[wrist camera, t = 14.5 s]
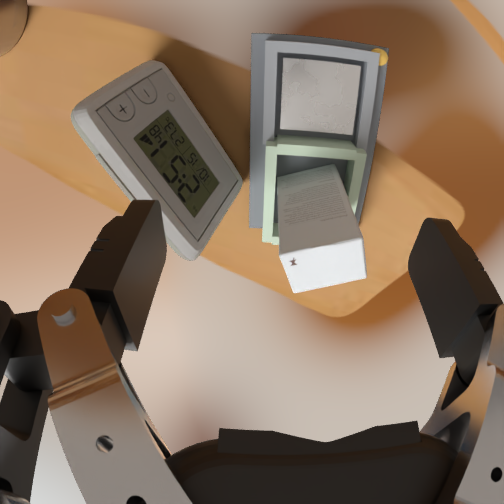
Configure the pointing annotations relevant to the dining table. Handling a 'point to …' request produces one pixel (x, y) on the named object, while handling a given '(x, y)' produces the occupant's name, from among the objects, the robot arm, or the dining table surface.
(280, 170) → the grey green docking tray
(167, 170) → the digital clock
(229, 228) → the dining table surface
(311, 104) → the cradle plate
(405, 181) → the dining table surface
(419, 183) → the dining table surface
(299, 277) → the skincare box
